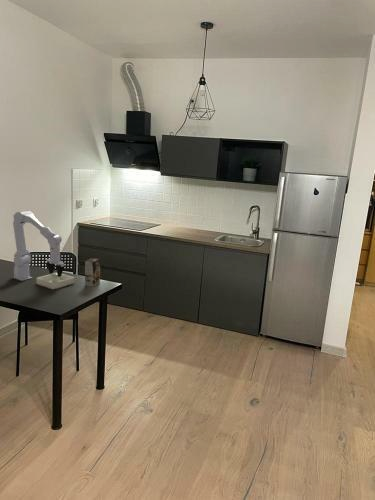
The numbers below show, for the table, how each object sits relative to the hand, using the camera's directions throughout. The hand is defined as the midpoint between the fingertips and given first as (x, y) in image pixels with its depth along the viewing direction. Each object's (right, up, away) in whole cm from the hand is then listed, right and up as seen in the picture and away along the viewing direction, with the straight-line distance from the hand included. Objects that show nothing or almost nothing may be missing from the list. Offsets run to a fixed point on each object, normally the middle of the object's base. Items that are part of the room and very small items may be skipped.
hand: (55, 275), depth 229 cm
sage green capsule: (0, -5, +1) cm, 5 cm away
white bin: (0, -5, +1) cm, 6 cm away
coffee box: (+22, -6, +5) cm, 23 cm away
